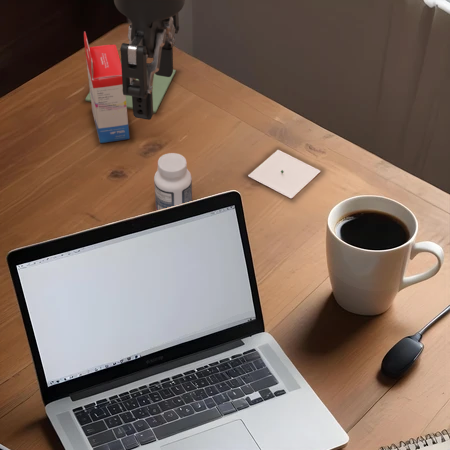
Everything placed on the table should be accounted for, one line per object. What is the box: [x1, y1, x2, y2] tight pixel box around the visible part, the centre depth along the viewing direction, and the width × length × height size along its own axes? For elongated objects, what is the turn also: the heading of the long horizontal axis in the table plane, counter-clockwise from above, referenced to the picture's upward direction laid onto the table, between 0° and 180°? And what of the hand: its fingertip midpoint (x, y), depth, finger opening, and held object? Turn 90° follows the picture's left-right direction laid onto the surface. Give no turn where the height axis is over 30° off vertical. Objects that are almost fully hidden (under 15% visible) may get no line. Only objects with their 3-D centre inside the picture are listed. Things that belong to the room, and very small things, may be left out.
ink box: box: [83, 31, 131, 144], centre depth 127 cm, size 8×5×15 cm, turn 14°
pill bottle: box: [153, 152, 193, 211], centre depth 118 cm, size 5×5×9 cm
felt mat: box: [84, 68, 177, 114], centre depth 139 cm, size 12×12×1 cm
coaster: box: [247, 149, 322, 199], centre depth 126 cm, size 8×8×1 cm
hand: (153, 95), depth 98 cm, fingers open, 8 cm apart
